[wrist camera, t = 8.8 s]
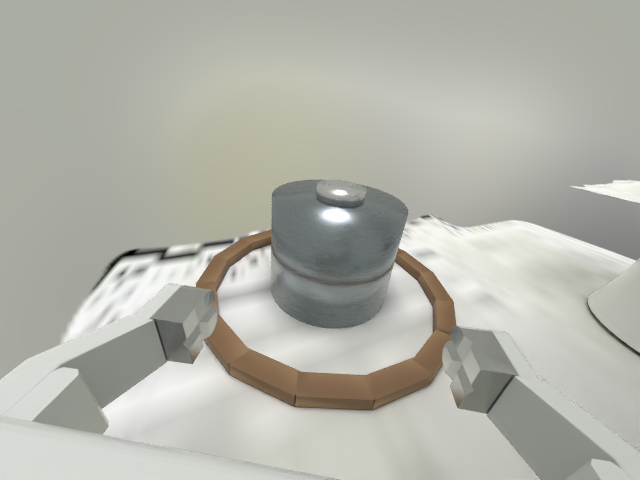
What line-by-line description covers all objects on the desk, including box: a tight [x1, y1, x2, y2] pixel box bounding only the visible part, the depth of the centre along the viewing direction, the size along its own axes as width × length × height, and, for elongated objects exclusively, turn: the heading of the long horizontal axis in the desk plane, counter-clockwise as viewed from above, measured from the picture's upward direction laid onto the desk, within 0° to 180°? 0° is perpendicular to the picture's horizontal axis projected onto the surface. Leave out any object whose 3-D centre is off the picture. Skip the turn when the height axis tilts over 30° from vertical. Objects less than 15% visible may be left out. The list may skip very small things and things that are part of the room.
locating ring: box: [196, 230, 456, 410], centre depth 25 cm, size 23×23×1 cm
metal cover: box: [271, 180, 408, 328], centre depth 23 cm, size 11×11×10 cm
